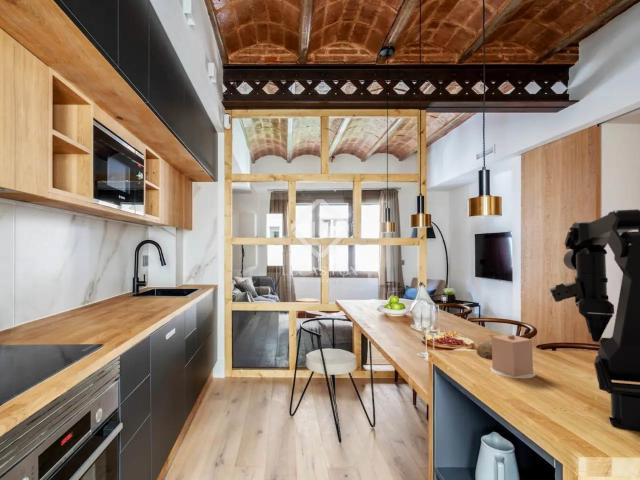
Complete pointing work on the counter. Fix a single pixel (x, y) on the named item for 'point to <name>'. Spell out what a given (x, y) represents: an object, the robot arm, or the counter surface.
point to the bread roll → (485, 349)
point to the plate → (512, 376)
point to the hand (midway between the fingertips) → (593, 337)
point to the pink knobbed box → (512, 355)
